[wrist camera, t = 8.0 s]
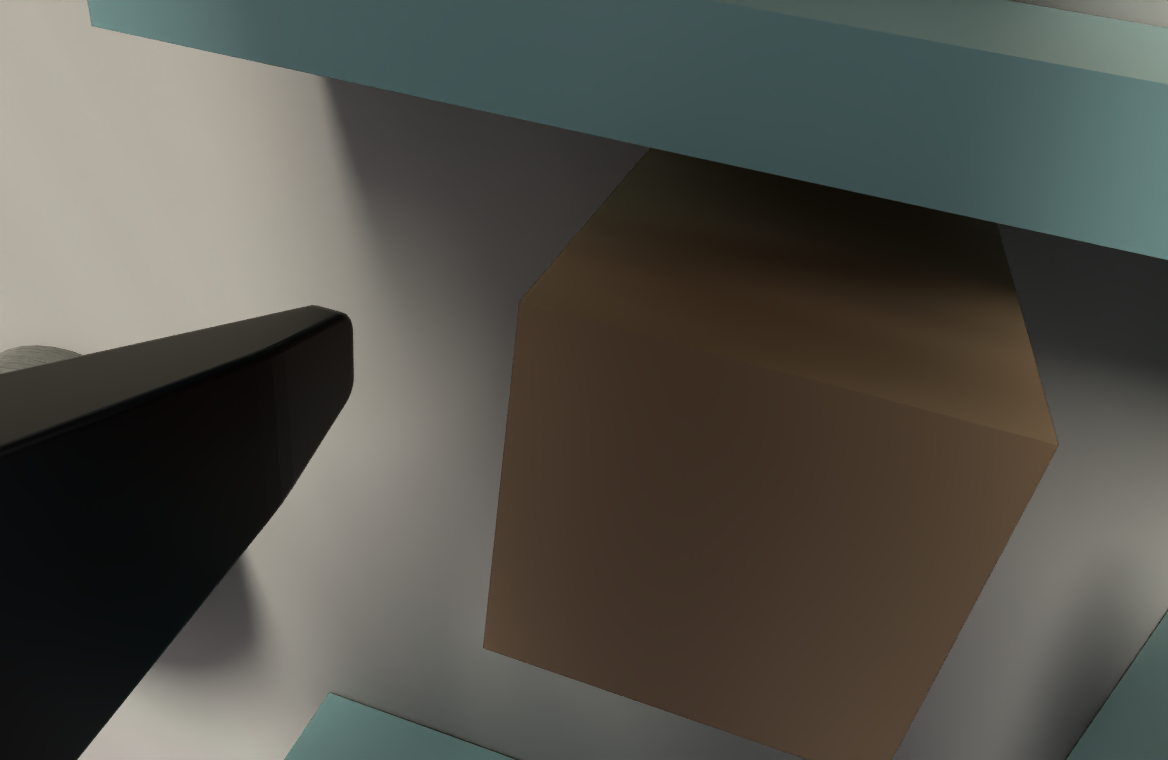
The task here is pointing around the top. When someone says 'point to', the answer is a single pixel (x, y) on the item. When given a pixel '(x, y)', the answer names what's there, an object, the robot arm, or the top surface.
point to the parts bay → (769, 147)
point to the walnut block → (763, 453)
